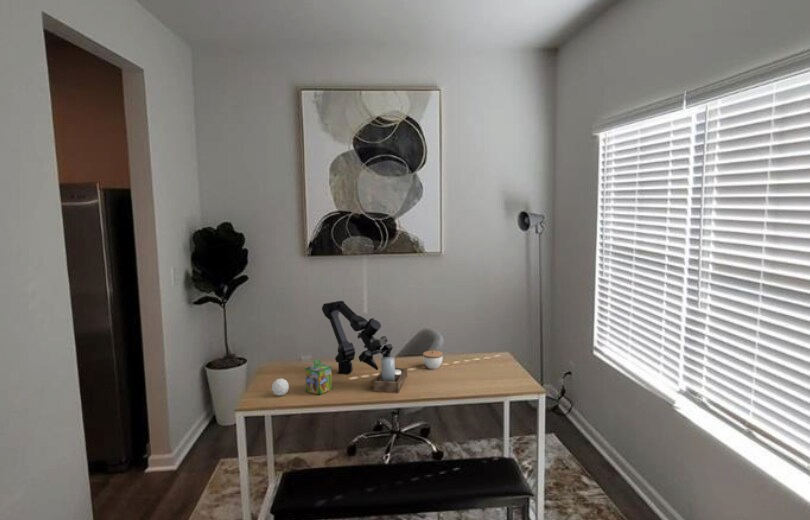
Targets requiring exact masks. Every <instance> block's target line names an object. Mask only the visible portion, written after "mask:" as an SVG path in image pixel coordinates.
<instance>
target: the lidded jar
mask: <svg viewBox="0 0 810 520" xmlns="http://www.w3.org/2000/svg"><path fill="white" fill-rule="evenodd" d="M422 356H423V357H422V358H423V360H422V361H423V363H424V365H425V366H426V367H427V369H429V370H437V369H439V368H438V367H440V366H441V365H442V363H443V358H444V357H443V352H442V351H438V350H434V349H433V350H426V351H424V352H423V354H422Z"/></svg>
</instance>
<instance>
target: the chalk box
mask: <svg viewBox="0 0 810 520" xmlns="http://www.w3.org/2000/svg"><path fill="white" fill-rule="evenodd" d="M332 370H333V369H332V366H331V365H327V364H323V363H322V361H321V359H320V358H318V359H315V360H314V361H313V365H311V366H308V367H306V368H305V390H306V391H307V392H306V391H305V392H306V393H312V394H316V395H319V396H321V395H323V394H325V393H327V392H329V391H331V389H332V390H333V377H332V376H333V374H332V373H333V371H332Z"/></svg>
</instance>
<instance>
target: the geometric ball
mask: <svg viewBox="0 0 810 520" xmlns="http://www.w3.org/2000/svg"><path fill="white" fill-rule="evenodd" d="M289 389H290V386H289V382H288V381H287V380H286V379H284V378H277V379H275V380H274V381H273V383H272V385H271V391H272V393H273V394H274V395H275V396H278V397H281V396H284V395H286V394H287V393H288V391H289Z"/></svg>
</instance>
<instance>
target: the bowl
mask: <svg viewBox="0 0 810 520" xmlns="http://www.w3.org/2000/svg"><path fill="white" fill-rule="evenodd" d="M395 374H398V375H401V370H398V369H395Z"/></svg>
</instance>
